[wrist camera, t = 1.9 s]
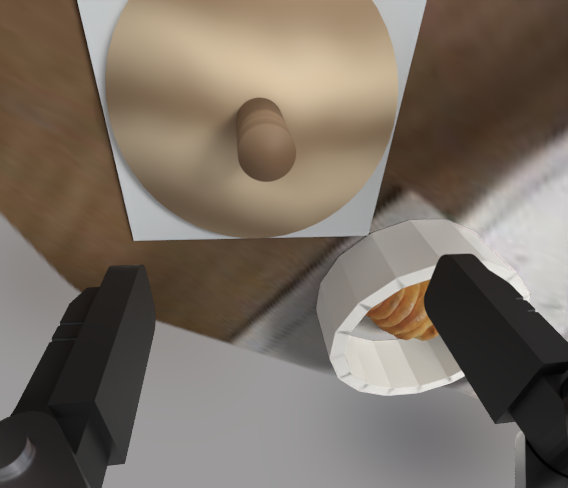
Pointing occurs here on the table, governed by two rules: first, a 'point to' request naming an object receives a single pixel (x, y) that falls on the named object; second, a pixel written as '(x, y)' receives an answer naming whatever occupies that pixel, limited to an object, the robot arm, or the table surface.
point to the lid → (252, 107)
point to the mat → (168, 226)
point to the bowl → (382, 284)
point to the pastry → (405, 314)
